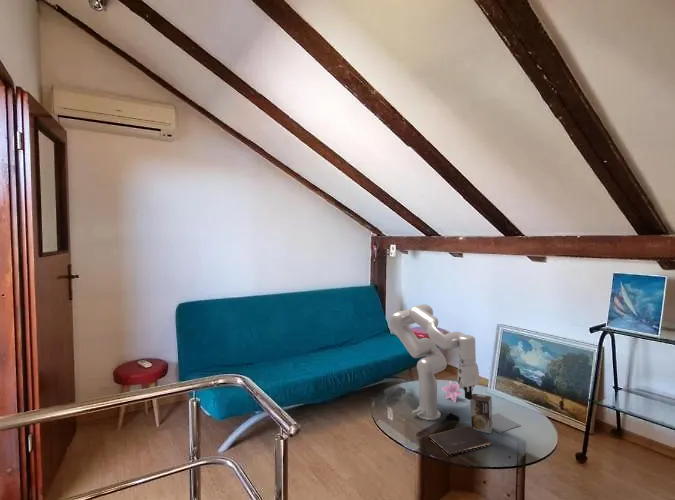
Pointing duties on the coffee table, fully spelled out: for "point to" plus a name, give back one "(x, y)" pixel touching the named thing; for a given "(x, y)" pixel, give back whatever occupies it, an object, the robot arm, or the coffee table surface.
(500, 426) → the slate mat
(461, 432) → the hardcover book
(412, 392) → the coffee table surface
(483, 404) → the coffee box
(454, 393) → the lily
